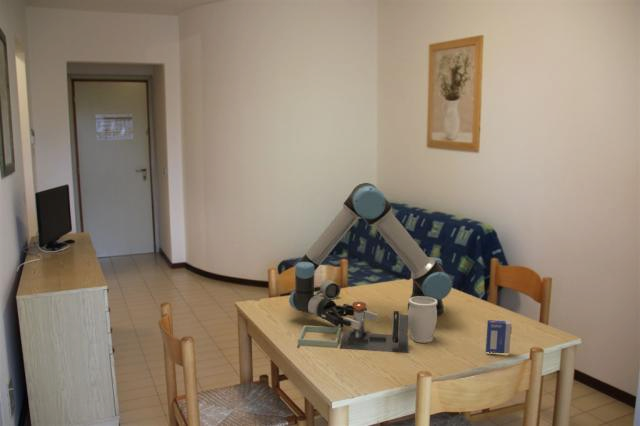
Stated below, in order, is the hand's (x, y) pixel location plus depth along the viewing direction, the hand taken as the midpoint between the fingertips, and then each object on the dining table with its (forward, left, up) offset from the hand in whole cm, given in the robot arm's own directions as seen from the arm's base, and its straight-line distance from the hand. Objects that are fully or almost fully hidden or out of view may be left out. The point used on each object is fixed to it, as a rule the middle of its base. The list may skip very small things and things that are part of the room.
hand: (368, 321), depth 209 cm
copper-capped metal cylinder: (+3, -2, -7) cm, 8 cm away
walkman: (-45, +2, -8) cm, 46 cm away
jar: (-20, -7, -8) cm, 23 cm away
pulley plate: (-3, +1, -8) cm, 9 cm away
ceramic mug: (+21, -51, -9) cm, 56 cm away
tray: (+17, +1, -8) cm, 19 cm away
